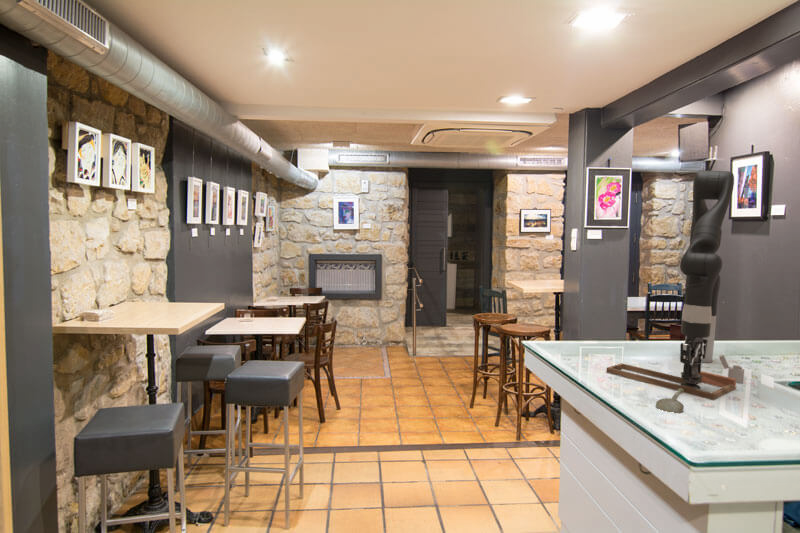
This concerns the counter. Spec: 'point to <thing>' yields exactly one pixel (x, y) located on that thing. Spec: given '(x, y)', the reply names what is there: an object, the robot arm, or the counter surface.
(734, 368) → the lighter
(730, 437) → the counter surface
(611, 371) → the track
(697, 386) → the salt shaker
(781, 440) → the counter surface
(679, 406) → the soupspoon
